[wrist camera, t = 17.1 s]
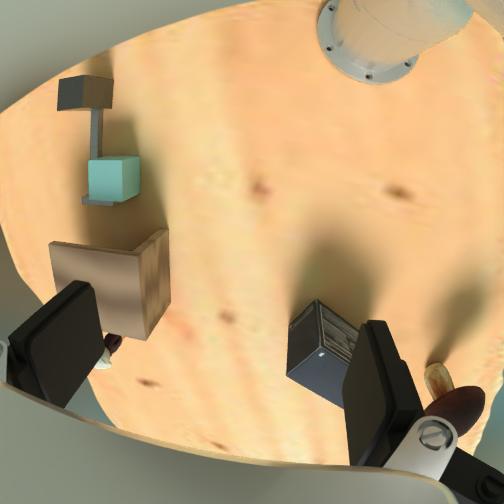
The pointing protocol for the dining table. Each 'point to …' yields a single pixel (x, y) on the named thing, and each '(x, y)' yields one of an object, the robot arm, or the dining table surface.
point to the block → (114, 178)
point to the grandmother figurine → (109, 350)
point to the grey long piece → (85, 99)
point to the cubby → (120, 281)
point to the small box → (320, 351)
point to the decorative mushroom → (453, 399)
